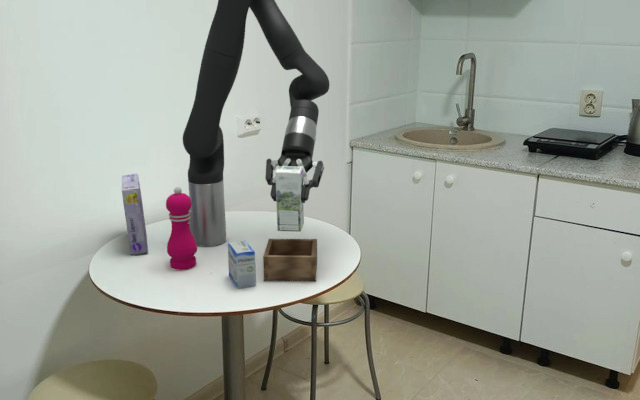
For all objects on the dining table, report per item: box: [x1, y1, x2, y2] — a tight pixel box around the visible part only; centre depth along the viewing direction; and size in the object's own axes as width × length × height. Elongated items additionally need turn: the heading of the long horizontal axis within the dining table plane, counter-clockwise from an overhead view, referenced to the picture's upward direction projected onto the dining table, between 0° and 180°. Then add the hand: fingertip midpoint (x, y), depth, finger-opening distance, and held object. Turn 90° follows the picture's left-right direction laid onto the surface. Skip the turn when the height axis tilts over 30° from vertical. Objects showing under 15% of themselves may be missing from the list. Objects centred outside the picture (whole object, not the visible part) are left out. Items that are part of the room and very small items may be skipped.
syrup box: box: [275, 165, 305, 233], centre depth 137 cm, size 6×6×14 cm
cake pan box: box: [121, 173, 149, 255], centre depth 158 cm, size 19×5×18 cm, turn 18°
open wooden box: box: [262, 238, 318, 282], centre depth 141 cm, size 12×12×6 cm
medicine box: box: [227, 239, 257, 289], centre depth 135 cm, size 8×4×9 cm, turn 23°
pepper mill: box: [165, 186, 198, 271], centre depth 142 cm, size 7×7×20 cm
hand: (288, 200), depth 135 cm, fingers closed on syrup box, 6 cm apart
